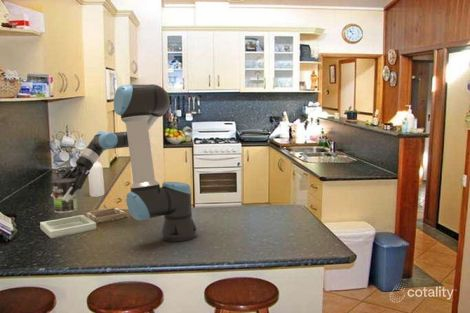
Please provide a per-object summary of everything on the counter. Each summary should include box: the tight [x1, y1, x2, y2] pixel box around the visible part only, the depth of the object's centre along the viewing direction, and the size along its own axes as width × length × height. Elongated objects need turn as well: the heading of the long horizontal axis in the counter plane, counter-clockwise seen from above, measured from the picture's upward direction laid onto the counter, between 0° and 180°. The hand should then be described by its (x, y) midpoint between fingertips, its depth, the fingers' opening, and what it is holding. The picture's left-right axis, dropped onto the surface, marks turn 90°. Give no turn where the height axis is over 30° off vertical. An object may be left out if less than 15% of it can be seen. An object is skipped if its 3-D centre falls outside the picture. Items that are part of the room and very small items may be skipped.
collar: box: [85, 206, 128, 224], centre depth 230 cm, size 15×15×2 cm
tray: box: [39, 214, 97, 240], centre depth 212 cm, size 20×20×3 cm
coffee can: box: [51, 178, 79, 214], centre depth 211 cm, size 10×10×14 cm
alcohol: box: [87, 158, 105, 198], centre depth 282 cm, size 9×9×30 cm
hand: (59, 198), depth 208 cm, fingers closed on coffee can, 10 cm apart
